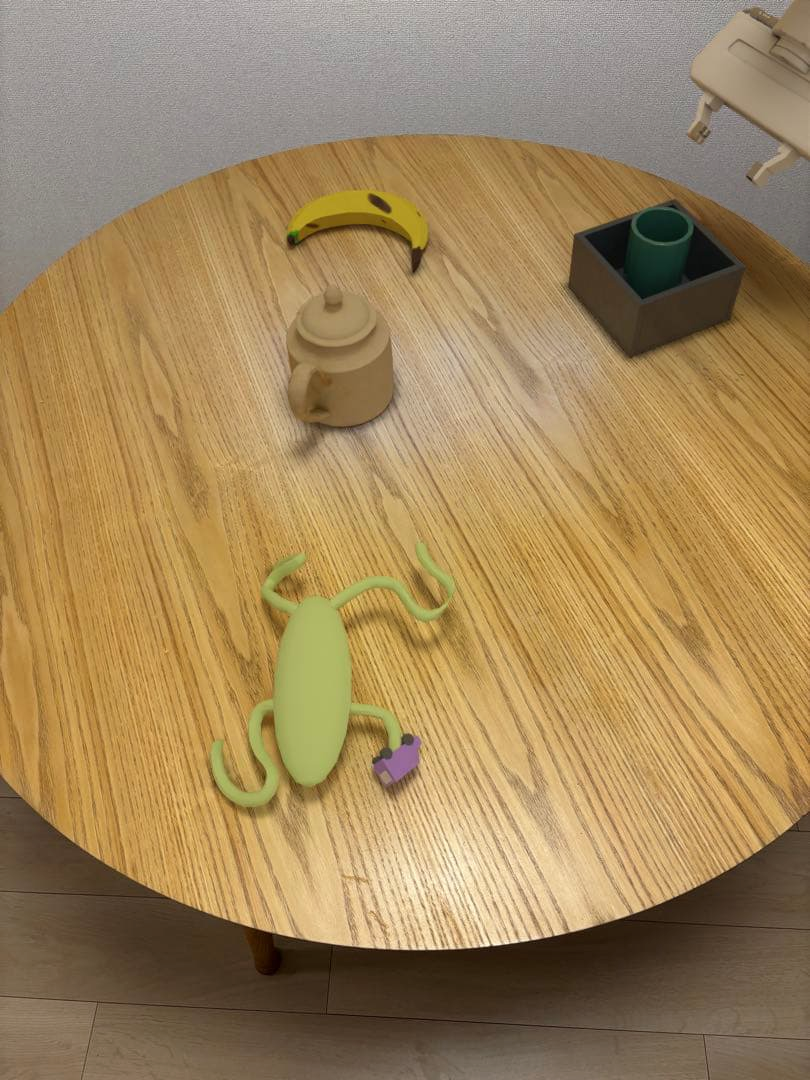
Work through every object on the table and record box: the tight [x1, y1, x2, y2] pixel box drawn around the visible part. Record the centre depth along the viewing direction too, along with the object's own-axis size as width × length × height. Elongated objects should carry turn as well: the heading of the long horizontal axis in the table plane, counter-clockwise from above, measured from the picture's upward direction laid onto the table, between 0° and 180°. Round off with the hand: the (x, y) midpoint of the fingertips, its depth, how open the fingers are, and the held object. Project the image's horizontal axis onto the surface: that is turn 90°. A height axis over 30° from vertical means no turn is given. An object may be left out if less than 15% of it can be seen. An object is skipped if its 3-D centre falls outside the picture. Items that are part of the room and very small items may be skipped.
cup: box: [622, 206, 693, 299], centre depth 113 cm, size 7×7×10 cm
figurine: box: [209, 541, 456, 808], centre depth 88 cm, size 18×27×6 cm
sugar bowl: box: [285, 283, 395, 428], centre depth 104 cm, size 15×11×15 cm
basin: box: [567, 198, 747, 358], centre depth 114 cm, size 14×14×8 cm
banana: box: [286, 188, 429, 273], centre depth 125 cm, size 5×17×15 cm
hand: (721, 160), depth 106 cm, fingers open, 8 cm apart
